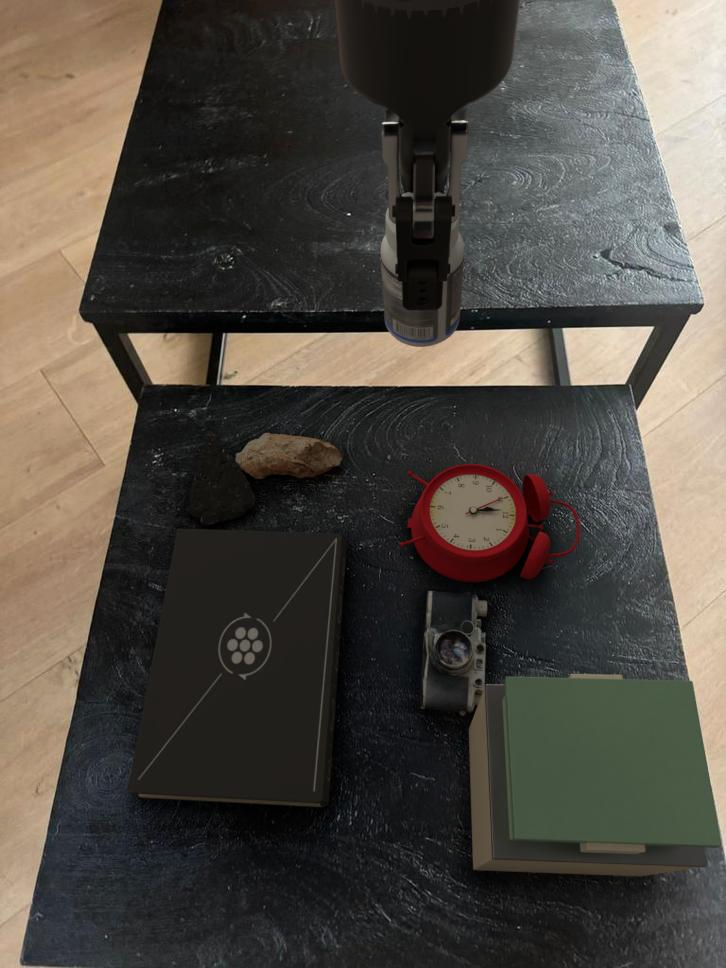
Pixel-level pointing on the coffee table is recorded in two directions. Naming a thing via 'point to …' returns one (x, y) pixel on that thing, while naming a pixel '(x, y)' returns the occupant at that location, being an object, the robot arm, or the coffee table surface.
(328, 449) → the tan elongated rock
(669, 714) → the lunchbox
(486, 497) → the alarm clock
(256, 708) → the book
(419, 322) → the pill bottle
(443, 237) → the robot arm
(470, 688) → the camera
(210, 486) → the arrowhead
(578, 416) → the coffee table surface
